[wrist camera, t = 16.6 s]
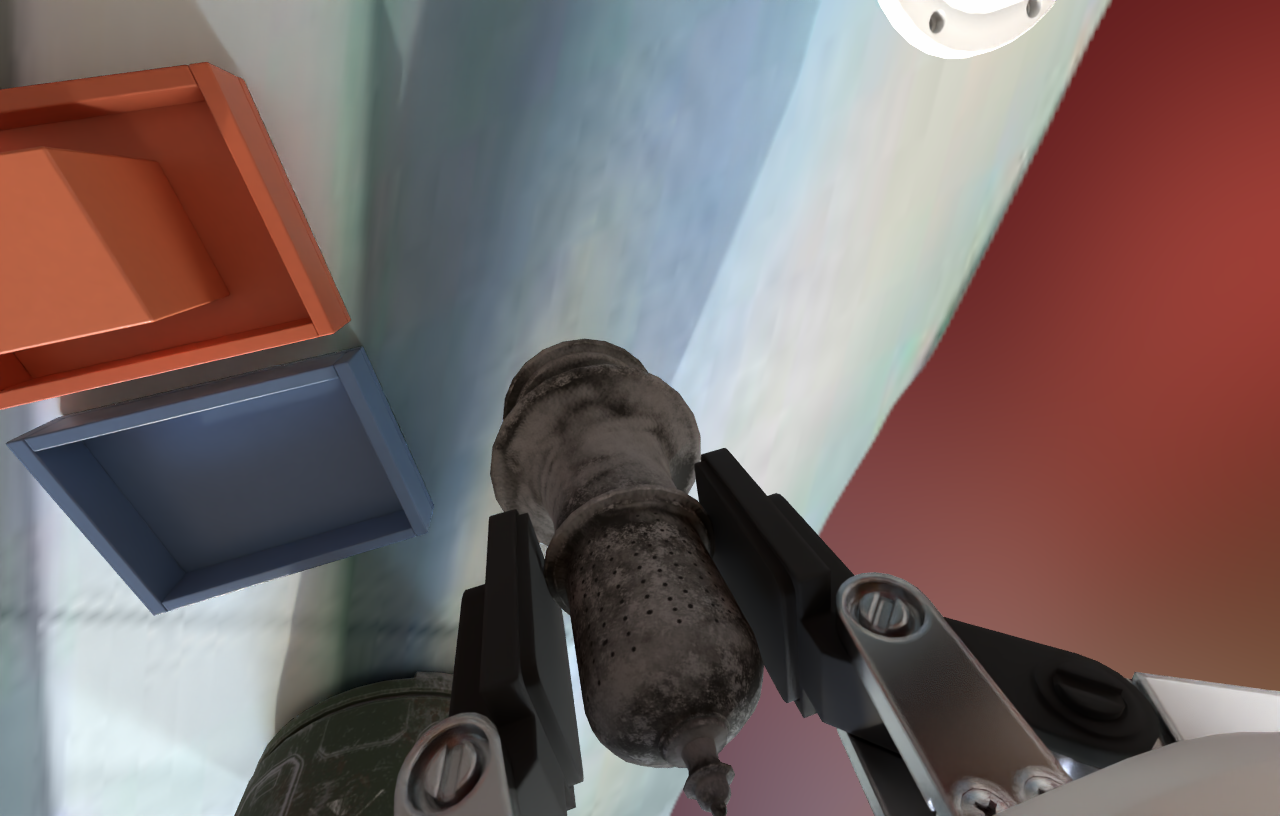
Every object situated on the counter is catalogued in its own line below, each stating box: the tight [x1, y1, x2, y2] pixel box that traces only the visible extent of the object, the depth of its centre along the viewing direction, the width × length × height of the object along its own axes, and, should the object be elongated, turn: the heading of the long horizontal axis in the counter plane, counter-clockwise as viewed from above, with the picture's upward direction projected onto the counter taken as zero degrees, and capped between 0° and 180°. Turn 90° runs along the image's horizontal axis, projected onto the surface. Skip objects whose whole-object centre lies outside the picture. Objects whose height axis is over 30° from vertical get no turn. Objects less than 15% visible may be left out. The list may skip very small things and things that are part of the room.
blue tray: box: [6, 346, 434, 616], centre depth 22 cm, size 12×9×2 cm
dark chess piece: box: [490, 339, 764, 816], centre depth 11 cm, size 6×6×12 cm
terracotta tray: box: [0, 62, 351, 410], centre depth 18 cm, size 12×9×2 cm
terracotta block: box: [0, 146, 230, 354], centre depth 16 cm, size 5×5×5 cm
